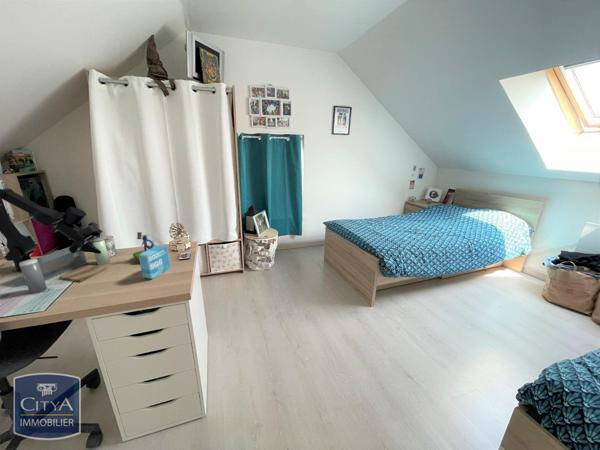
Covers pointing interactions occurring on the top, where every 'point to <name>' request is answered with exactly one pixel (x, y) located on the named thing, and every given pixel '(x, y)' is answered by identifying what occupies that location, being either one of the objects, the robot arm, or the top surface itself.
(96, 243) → the sage canister
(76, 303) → the top surface
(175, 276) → the top surface
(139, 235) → the pirate figurine
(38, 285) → the grey cylinder
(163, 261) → the data package
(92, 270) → the walnut plate
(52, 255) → the slate unit
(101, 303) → the top surface
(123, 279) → the top surface
